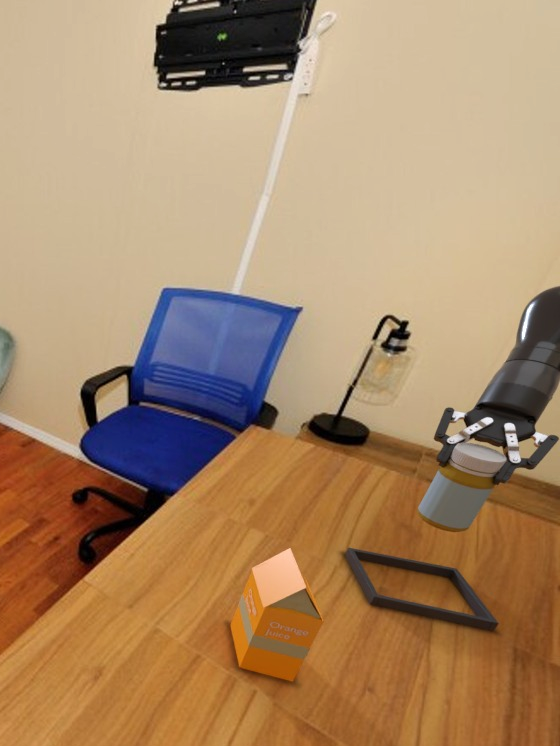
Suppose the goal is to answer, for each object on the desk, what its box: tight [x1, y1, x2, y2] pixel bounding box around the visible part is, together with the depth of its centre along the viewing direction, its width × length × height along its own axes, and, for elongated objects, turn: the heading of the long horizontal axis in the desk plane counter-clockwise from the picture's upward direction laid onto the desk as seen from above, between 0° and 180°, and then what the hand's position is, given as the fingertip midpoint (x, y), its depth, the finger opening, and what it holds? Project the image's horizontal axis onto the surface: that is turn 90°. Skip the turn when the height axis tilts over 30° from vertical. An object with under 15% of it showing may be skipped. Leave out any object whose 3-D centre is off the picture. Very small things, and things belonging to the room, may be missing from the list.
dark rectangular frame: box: [344, 547, 499, 632], centre depth 96 cm, size 18×14×3 cm
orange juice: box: [230, 547, 325, 682], centre depth 81 cm, size 8×9×20 cm
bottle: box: [416, 442, 506, 533], centre depth 89 cm, size 7×7×15 cm
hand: (468, 473), depth 86 cm, fingers closed on bottle, 6 cm apart
